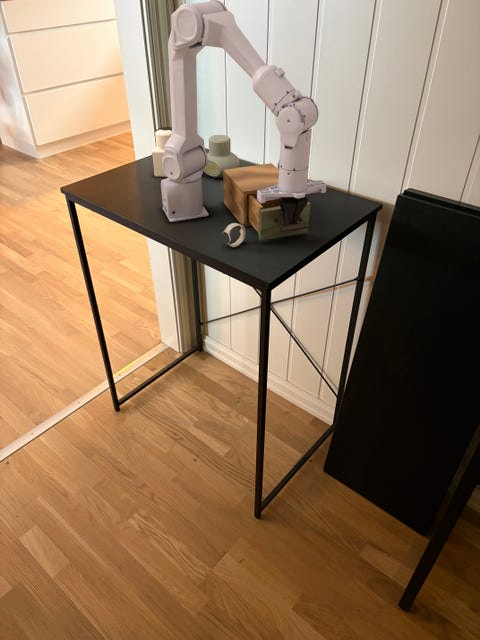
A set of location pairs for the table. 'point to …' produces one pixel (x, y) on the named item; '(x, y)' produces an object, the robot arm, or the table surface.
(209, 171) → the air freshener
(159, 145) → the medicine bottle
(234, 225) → the wristwatch
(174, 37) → the robot arm
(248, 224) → the cabinet
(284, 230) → the drawer
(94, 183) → the table surface
